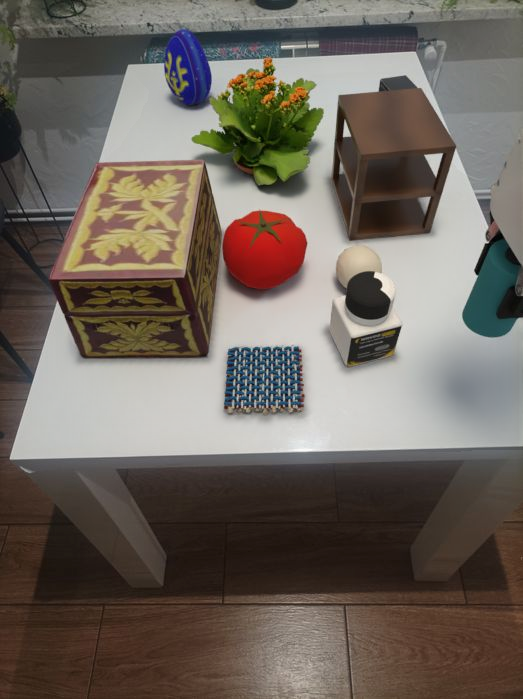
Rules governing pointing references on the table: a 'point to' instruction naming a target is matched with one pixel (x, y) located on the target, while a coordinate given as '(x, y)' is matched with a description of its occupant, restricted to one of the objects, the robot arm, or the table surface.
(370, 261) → the cream round ball
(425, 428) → the table surface
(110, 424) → the table surface
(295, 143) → the potted flower
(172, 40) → the ornament
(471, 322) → the teal cylinder
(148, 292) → the decorative box
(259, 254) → the tomato
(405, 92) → the rack
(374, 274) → the medicine bottle
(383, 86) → the box
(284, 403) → the woven mat
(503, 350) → the table surface
